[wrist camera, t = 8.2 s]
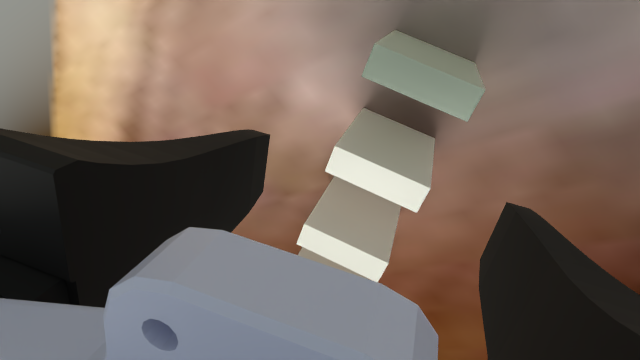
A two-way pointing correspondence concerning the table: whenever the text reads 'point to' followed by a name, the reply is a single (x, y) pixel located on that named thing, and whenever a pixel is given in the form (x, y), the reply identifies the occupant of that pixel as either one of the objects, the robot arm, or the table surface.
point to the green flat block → (425, 74)
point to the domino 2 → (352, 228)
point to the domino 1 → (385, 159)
